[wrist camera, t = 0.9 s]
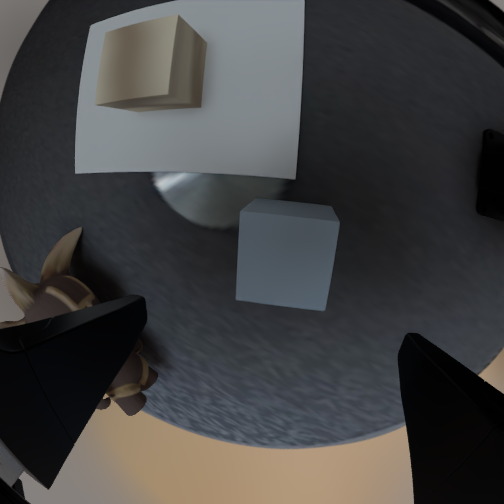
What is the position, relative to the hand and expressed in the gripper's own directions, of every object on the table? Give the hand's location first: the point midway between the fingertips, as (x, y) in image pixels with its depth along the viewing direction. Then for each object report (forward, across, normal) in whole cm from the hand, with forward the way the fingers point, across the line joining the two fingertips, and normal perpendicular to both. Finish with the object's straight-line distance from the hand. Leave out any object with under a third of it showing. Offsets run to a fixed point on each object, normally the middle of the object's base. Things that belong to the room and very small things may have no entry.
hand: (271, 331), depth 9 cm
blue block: (+11, 0, 0) cm, 11 cm away
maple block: (+11, +9, -11) cm, 18 cm away
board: (+11, +9, -11) cm, 18 cm away
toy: (+11, +16, +9) cm, 21 cm away
